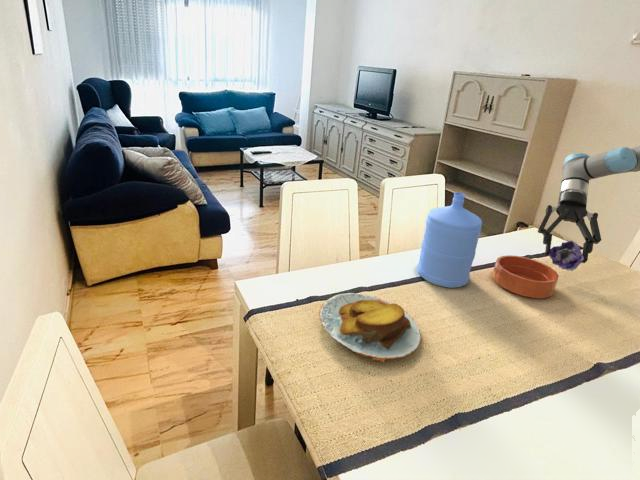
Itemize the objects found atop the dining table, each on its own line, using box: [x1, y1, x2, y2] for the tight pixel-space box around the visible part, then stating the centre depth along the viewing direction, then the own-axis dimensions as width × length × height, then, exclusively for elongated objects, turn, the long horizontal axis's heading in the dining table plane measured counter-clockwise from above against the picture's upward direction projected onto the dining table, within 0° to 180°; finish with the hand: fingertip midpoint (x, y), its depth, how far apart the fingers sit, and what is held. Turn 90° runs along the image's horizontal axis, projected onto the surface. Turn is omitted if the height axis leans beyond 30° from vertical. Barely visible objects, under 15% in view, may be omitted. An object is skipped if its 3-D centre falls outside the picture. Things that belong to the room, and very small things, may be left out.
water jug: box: [416, 192, 483, 289], centre depth 120 cm, size 16×16×28 cm
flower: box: [548, 240, 584, 271], centre depth 123 cm, size 9×9×10 cm
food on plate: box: [318, 292, 422, 362], centre depth 97 cm, size 25×25×7 cm
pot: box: [491, 255, 559, 299], centre depth 121 cm, size 17×17×6 cm
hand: (565, 257), depth 121 cm, fingers closed on flower, 9 cm apart
